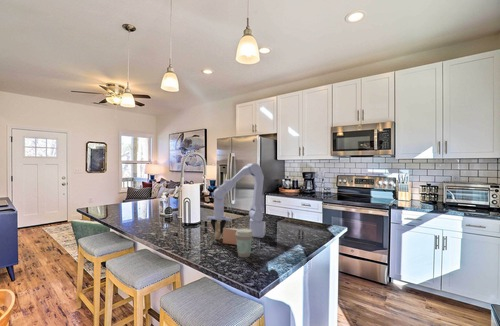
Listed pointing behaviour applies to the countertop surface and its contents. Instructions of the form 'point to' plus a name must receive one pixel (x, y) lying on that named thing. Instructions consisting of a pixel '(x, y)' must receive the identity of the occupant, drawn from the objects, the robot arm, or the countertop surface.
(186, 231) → the countertop surface
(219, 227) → the stick
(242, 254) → the coffee cup
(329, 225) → the countertop surface
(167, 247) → the countertop surface
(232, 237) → the tile
